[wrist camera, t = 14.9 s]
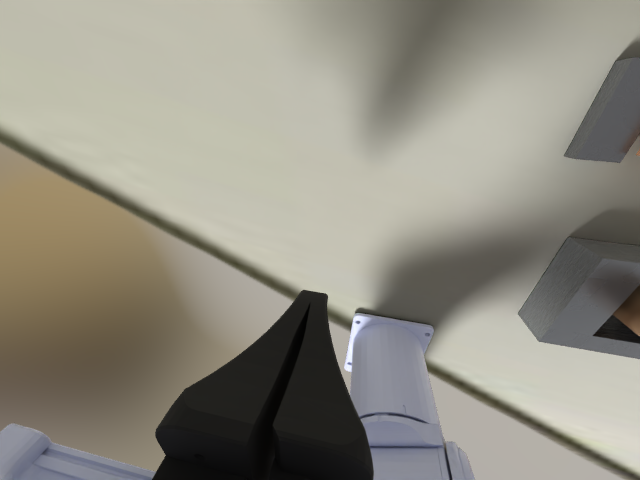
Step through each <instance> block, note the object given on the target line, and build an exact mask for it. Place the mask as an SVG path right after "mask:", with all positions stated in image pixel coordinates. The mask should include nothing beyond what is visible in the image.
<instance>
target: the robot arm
mask: <svg viewBox="0 0 640 480" xmlns="http://www.w3.org/2000/svg"><path fill="white" fill-rule="evenodd" d="M327 300H328V295H327V294H324V293H318V292H313V291H307V290H303V291H301V292H300V294H299V295H298V297H297V298H296V299H295V301H294V302H293V303H292V305H291V306H290V307H289V308H288V309H287V311H286V312H285V313H284V314H283V315H282V316H281V318H280V319H279V320H278V321H277V322H276V323H275V324H274V325H273V326H272V327H271V328H270V329H269V330H268V331H267V332H266V333H265V334H264V335H263V336H261V337H260V338H259V339H258V340H257V341H256V342H254V343H253V344H252V345H251V346H250V347H248V348H247V349H246V350H245V351H243V352H242V353H241V354H239V355H238V356H237V357H236V358H234V359H233V360H231V361H230V362H228V363H227V364H225V365H224V366H222V367H221V368H219V369H218V370H217V371H215V372H214V373H212V374H210V375H209V376H207V377H205V378H203V379H202V380H200V381H198V382H196V383H195V384H193V385H191V386H190V387H188V388H186V389H185V390H184V391H183V392H182V394H181V395H180V396H179V397H178V399H177V400H176V401H175V402H174V404H173V405H172V406H171V408H170V409H169V411H168V412H167V414H166V415H165V417H164V418H163V420H162V421H161V423H160V424H159V426H158V428H157V429H156V432H155V433H156V438H157V441H158V443H159V444H160V446H161V448H162V449H163V451H164V453H165V455H166V456H165V458H164V460H163V461H162V463H161V465H160V466H159V468H158V470H157V472H155V471H151V470H148V469H144V468H141V467H137V466H134V465H130V464H126V463H123V462H119V461H116V460H112V459H109V458H105V457H102V456H98V455H95V454H91V453H87V452H84V451H80V450H77V449H73V448H70V447H66V446H63V445H59V444H55V443H52V442H51V439H50V438H49V437H48V436H47V435H45V434H44V433H42V432H40V431H38V430H35V429H32V428H28V427H25V426H21V425H18V424H14V423H12V424H9V425H8V426H6V427H5V428H4V429H3V430H2V431H1V432H0V480H475V478H474V475H473V472H472V469H471V466H470V463H469V460H468V457H467V455H466V453H465V452H464V451H463V450H462V449H460V448H458V446H457V444H456V443H455V442H445V439H444V437H443V435H442V430H441V426H440V422H439V417H438V414H437V409H436V405H435V401H434V397H433V392H432V388H431V384H430V380H429V375H428V371H427V367H426V363H425V359H424V353H425V351H426V349H427V347H428V344H429V342H430V340H431V337H432V335H433V333H434V329H433V327H432V326H431V325H426V324H420V323H414V322H409V321H403V320H397V319H392V318H386V317H380V316H374V315H369V314H363V313H356V314H354V318H353V323H352V328H351V334H350V340H349V345H348V350H347V355H346V361H345V370H347V371H350V372H351V387H350V395H349V393H348V390H347V387H346V385H345V382H344V379H343V377H342V374H341V371H340V368H339V366H338V362H337V359H336V355H335V352H334V348H333V344H332V339H331V335H330V330H329V323H328V315H327ZM357 320H358V321H357Z"/></svg>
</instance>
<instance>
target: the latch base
mask: <svg viewBox="0 0 640 480" xmlns="http://www.w3.org/2000/svg"><path fill="white" fill-rule="evenodd" d="M639 134H640V58H638V57H633V58H628V59H623V60H618V61H615V63H614V65H613V67H612V69H611V71H610V72H609V74H608V76H607V78H606V80H605V82H604V83H603V85H602V87H601V89H600V91H599V93H598V94H597V96H596V98H595V100H594V102H593V104H592V106H591V107H590V109H589V111H588V113H587V115H586V117H585V118H584V120H583V122H582V124H581V126H580V128H579V130H578V131H577V133H576V135H575V137H574V139H573V141H572V142H571V144H570V146H569V148H568V150H567V152H566V154H565V155H564V156H565V157H569V158H574V159H583V160H594V161H606V162H617V163H620V162H621V161H622V159H623V158H624V156H625V155H626V153H627V152H628V150H629V149H630V147H631V146H632V144H633V143H634V141H635V140H636V138H637V137H638V135H639Z"/></svg>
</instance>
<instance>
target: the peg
mask: <svg viewBox="0 0 640 480" xmlns="http://www.w3.org/2000/svg"><path fill="white" fill-rule="evenodd" d="M613 315H614V316H615V317H616V318H617V319H619V320H620V321H621V322H622V323H624V324H625V325H626V326H627V327H629V328H630V329H631V330H632V331H633V332H635V333H636V334H637V335H638V336H640V285H639V286H638V287H637V288H636V289H635V290H634V291H633V293H632V294H631V295H630V296H629V297H628V298H627V299H626V300H625V301H624V302H623V303H622V304H621V305H620V307H619V308H618V309H617V310H616V311H615V312H614V313H613Z"/></svg>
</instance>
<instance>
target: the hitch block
mask: <svg viewBox="0 0 640 480" xmlns="http://www.w3.org/2000/svg"><path fill="white" fill-rule="evenodd" d="M639 285H640V246H637V245H629V244H621V243H613V242H605V241H597V240H589V239H580V238H572V237H568V238H567V240H566V241H565V243H564V244H563V246H562V247H561V249H560V250H559V252H558V253H557V255H556V256H555V258H554V259H553V261H552V262H551V264H550V266H549V267H548V269H547V270H546V272H545V273H544V275H543V276H542V278H541V279H540V281H539V282H538V284H537V285H536V287H535V288H534V290H533V292H532V293H531V295H530V296H529V298H528V299H527V301H526V302H525V304H524V305H523V307H522V308H521V310H520V311H519V313H518V315H519V316H520V317H521V319H522V320H523V321H524V323H525V324H526V325H527V327H528V328H529V329H530V331H531V332H532V333H533V335H534V336H535V337H536V339H537V340H538V341H539V342H544V343H550V344H556V345H561V346H567V347H573V348H579V349H585V350H590V351H596V352H602V353H608V354H613V355H619V356H625V357H631V358H637V359H640V336H638V335H637V334H636V333H635V332H633V331H632V330H631V329H630V328H629V327H627V326H626V325H625V324H624V323H622V322H621V321H620V320H619V319H617V318H616V317H615V316H614V315H612V314H613V313H614V312H615V311H616V310H617V309H618V308H619V307H620V305H621V304H622V303H623V302H624V301H625V300H626V299H627V298H628V297H629V296H630V295H631V294H632V293H633V291H634V290H635V289H636V288H637V287H638V286H639Z"/></svg>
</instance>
